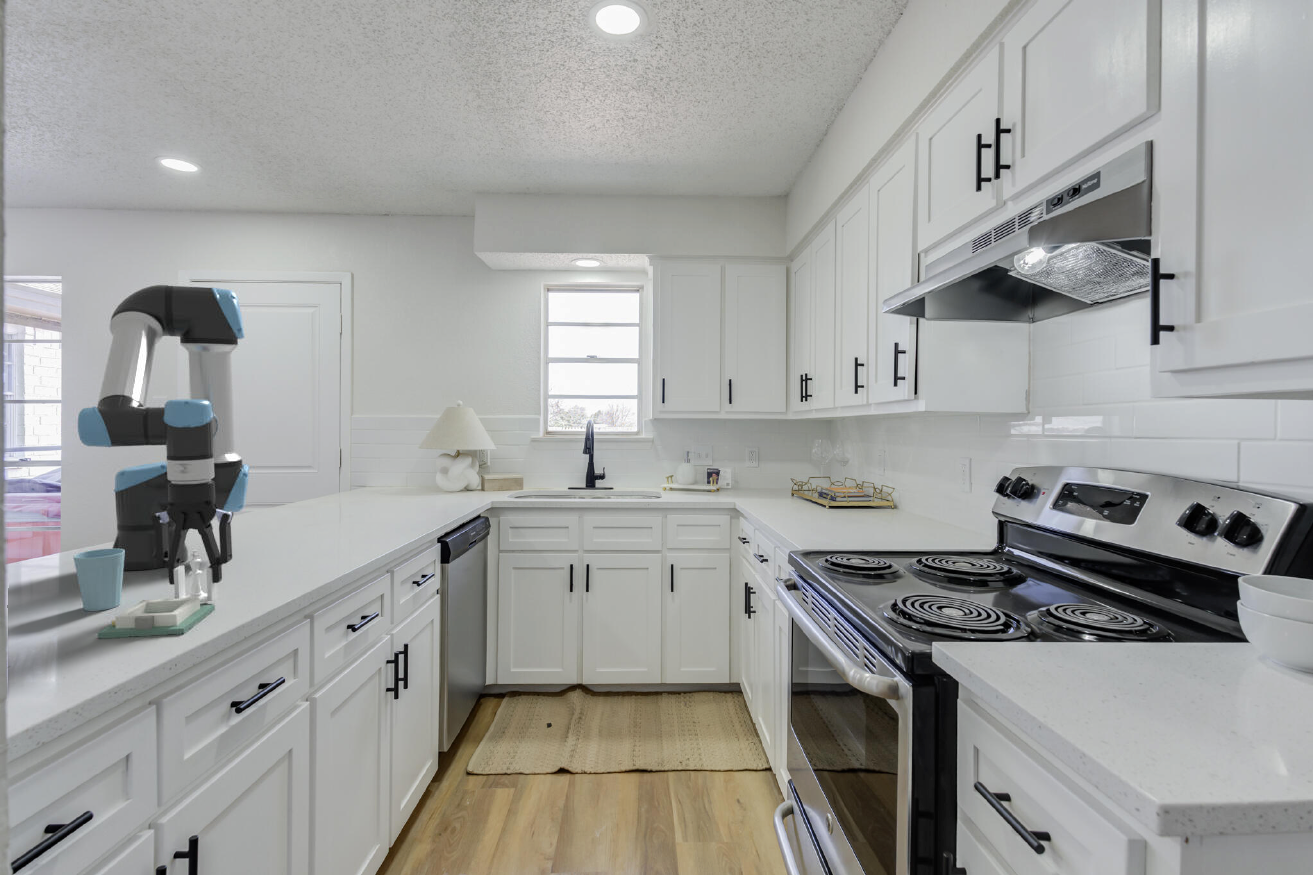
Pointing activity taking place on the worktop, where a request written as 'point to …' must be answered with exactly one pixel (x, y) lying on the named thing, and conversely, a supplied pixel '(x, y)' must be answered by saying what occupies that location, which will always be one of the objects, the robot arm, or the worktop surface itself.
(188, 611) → the header board
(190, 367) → the robot arm
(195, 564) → the chess piece
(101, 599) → the cup
